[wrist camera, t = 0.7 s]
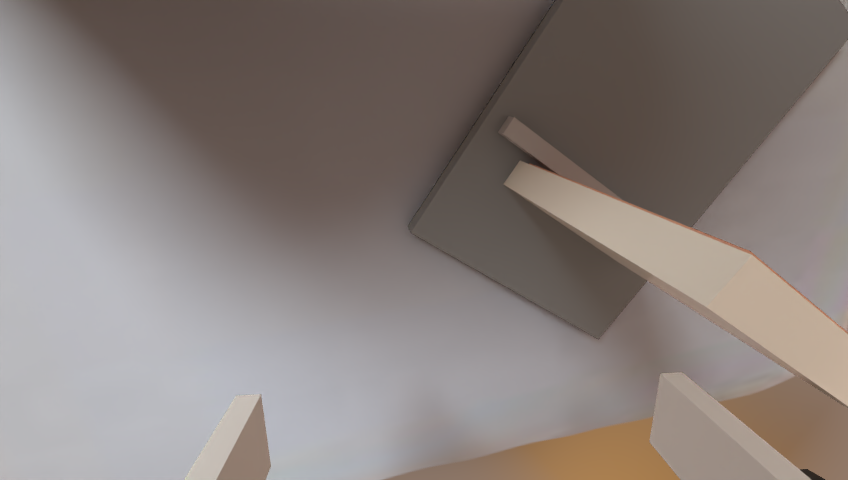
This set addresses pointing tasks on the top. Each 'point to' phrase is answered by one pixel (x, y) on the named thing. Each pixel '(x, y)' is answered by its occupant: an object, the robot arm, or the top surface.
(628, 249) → the tile
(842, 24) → the board
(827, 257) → the top surface
